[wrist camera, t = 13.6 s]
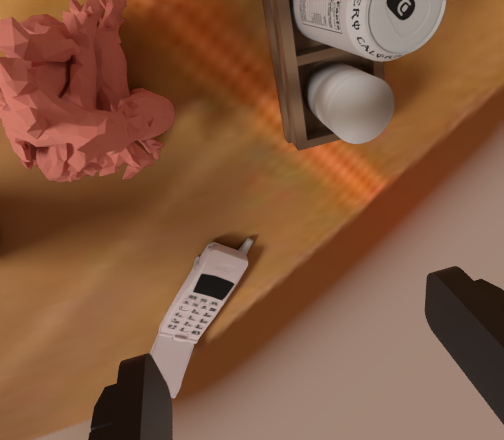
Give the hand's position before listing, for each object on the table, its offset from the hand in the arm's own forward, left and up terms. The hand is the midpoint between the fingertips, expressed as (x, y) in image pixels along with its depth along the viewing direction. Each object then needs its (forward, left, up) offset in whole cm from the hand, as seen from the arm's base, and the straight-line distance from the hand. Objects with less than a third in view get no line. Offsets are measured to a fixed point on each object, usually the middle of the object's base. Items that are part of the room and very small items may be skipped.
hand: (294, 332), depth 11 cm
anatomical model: (-10, +2, -32) cm, 34 cm away
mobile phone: (-9, -27, -33) cm, 43 cm away
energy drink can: (+12, +5, -31) cm, 33 cm away
